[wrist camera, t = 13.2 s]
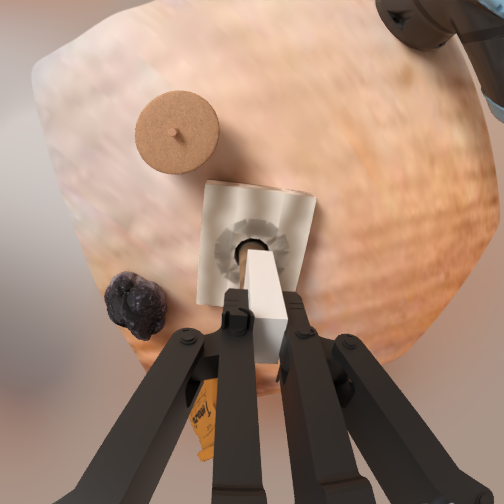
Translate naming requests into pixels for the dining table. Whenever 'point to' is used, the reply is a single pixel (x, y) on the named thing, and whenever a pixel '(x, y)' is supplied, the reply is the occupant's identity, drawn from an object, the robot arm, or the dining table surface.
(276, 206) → the board
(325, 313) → the dining table surface
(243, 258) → the peg
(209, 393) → the coffee package
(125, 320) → the crystal cluster
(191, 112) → the lidded jar
